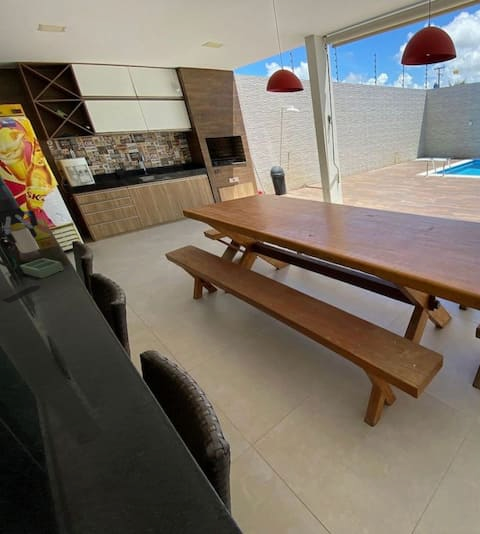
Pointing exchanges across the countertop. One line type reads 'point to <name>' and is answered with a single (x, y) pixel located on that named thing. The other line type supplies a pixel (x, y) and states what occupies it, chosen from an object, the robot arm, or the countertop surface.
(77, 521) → the countertop surface
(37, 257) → the vase
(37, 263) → the holder
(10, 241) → the robot arm
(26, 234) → the beige rectangular block
